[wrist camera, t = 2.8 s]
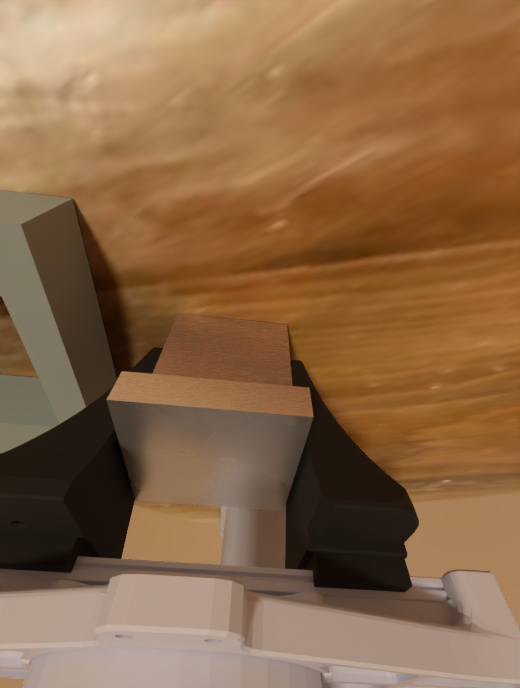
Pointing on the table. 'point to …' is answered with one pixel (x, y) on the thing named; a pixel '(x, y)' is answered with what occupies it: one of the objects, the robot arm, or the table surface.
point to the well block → (49, 317)
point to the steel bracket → (214, 416)
